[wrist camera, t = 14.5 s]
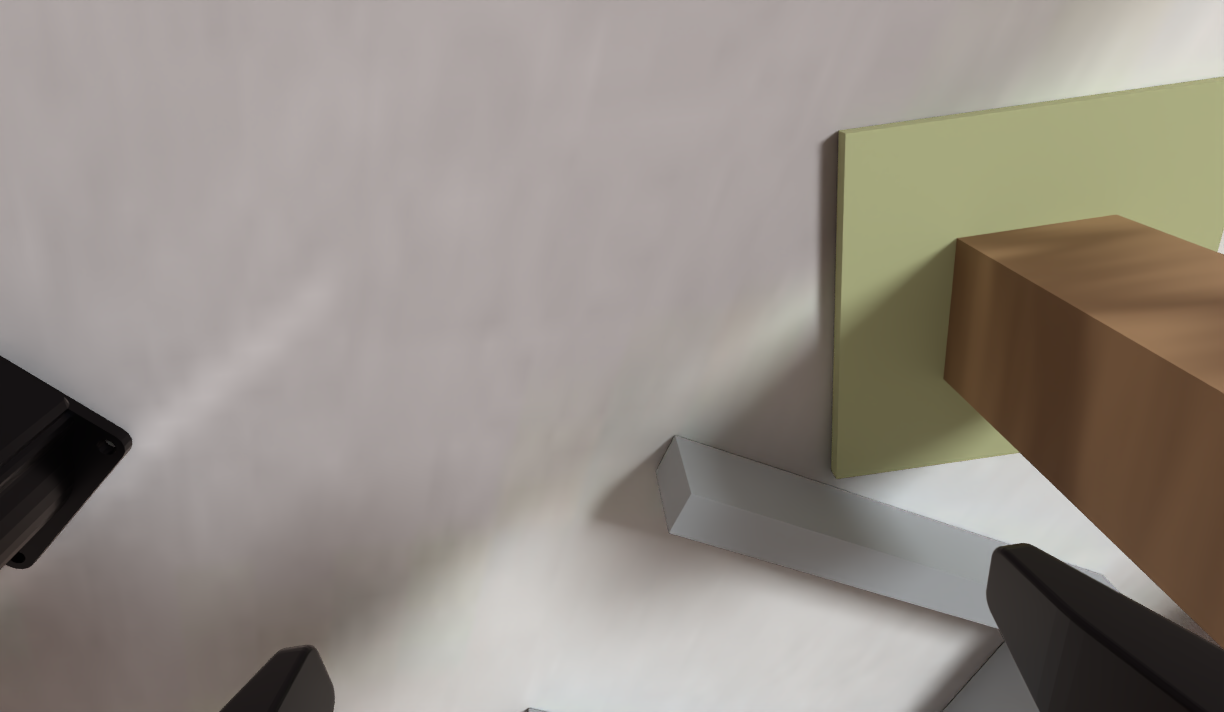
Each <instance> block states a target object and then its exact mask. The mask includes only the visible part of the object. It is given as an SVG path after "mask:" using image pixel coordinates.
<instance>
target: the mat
mask: <svg viewBox="0 0 1224 712" xmlns="http://www.w3.org/2000/svg"><path fill="white" fill-rule="evenodd" d="M1116 214H1117V215H1119V216H1122V217H1125V218H1127V219H1130V220H1133V221H1135V222H1138V223H1141V224H1143V225H1146V226H1149V227H1151V228H1154V229H1157V230H1159V231H1162V232H1165V233H1167V234H1170V235H1173V236H1175V237H1178V238H1181V239H1183V240H1186V241H1189V242H1191V243H1194V244H1197V245H1199V246H1202V247H1205V248H1207V249H1210V250H1213V251H1215V252H1217V251H1218V247H1219V244H1220V240H1221V237H1222V233H1223V230H1224V77H1218V78H1211V79H1204V80H1197V81H1190V82H1182V83H1175V84H1168V85H1161V86H1154V87H1147V88H1140V89H1132V90H1125V91H1118V92H1111V93H1104V94H1097V95H1090V96H1082V97H1075V98H1068V99H1061V100H1054V101H1047V102H1040V103H1032V104H1025V105H1018V106H1011V107H1004V108H997V109H990V110H982V111H975V112H968V113H961V114H954V115H947V116H940V117H932V118H925V119H918V120H911V121H904V122H897V123H890V124H882V125H875V126H868V127H861V128H854V129H847V130H840V131H839V139H838V184H837V228H836V273H835V317H834V362H833V406H832V451H831V471H832V473H833V474H834V476H835V478H836V479H841V478H848V477H855V476H862V475H869V474H876V473H883V472H890V471H897V470H903V469H910V468H917V467H924V466H931V465H938V464H945V463H952V462H959V461H966V460H973V459H980V458H987V457H993V456H1000V455H1007V454H1014V453H1020V452H1019V451H1018V450H1017V449H1016V448H1014V447H1013V446H1012V445H1011V444H1010V443H1009V442H1008V441H1007V440H1006V439H1005V438H1004V437H1003V436H1002V435H1001V434H1000V433H999V432H998V431H997V430H996V429H995V428H994V427H993V426H992V425H991V424H990V423H989V422H988V421H987V420H985V419H984V418H983V417H982V416H981V415H980V414H979V413H978V412H977V411H976V410H975V409H974V408H973V407H972V406H971V405H970V404H969V403H968V402H967V401H966V400H965V399H964V398H963V397H962V396H961V395H960V394H959V393H957V392H956V391H955V390H954V389H953V388H952V387H951V386H950V385H949V384H948V383H947V382H946V381H945V380H944V379H943V377H944V367H945V357H946V346H947V336H948V325H949V315H950V304H951V294H952V283H953V273H954V262H955V252H956V241H957V238H961V237H968V236H975V235H981V234H988V233H995V232H1002V231H1008V230H1015V229H1022V228H1028V227H1035V226H1042V225H1049V224H1055V223H1062V222H1069V221H1076V220H1082V219H1089V218H1096V217H1103V216H1109V215H1116Z"/></svg>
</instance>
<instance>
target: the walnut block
mask: <svg viewBox="0 0 1224 712" xmlns="http://www.w3.org/2000/svg"><path fill="white" fill-rule="evenodd" d="M943 379H944V380H945V381H946V382H947V383H948V384H949V385H950V386H951V387H952V388H953V389H954V390H955V391H956V392H957V393H959V394H960V395H961V396H962V397H963V398H964V399H965V400H966V401H967V402H968V403H969V404H970V405H971V406H972V407H973V408H974V409H975V410H976V411H977V412H978V413H979V414H980V415H981V416H982V417H983V418H984V419H985V420H987V421H988V422H989V423H990V424H991V425H992V426H993V427H994V428H995V429H996V430H997V431H998V432H999V433H1000V434H1001V435H1002V436H1003V437H1004V438H1005V439H1006V440H1007V441H1008V442H1009V443H1010V444H1011V445H1012V446H1013V447H1014V448H1016V449H1017V450H1018V451H1019V452H1020V453H1021V454H1022V455H1023V456H1024V457H1025V458H1026V459H1027V460H1028V461H1029V462H1030V463H1031V464H1032V465H1033V466H1034V467H1035V468H1036V469H1037V470H1038V471H1039V472H1040V473H1041V474H1042V475H1044V476H1045V477H1046V478H1047V479H1048V480H1049V481H1050V482H1051V483H1052V484H1053V485H1054V486H1055V487H1056V488H1057V489H1058V490H1059V491H1060V492H1061V493H1062V494H1063V495H1064V496H1065V497H1066V498H1067V499H1068V500H1069V501H1070V502H1071V503H1073V504H1074V505H1075V506H1076V507H1077V508H1078V509H1079V510H1080V511H1081V512H1082V513H1083V514H1084V515H1085V516H1086V517H1087V518H1088V519H1089V520H1090V521H1091V522H1092V523H1093V524H1094V525H1095V526H1096V527H1097V528H1098V529H1099V530H1101V531H1102V532H1103V533H1104V534H1105V535H1106V536H1107V537H1108V538H1109V539H1110V540H1111V541H1112V542H1113V543H1114V544H1115V545H1116V546H1117V547H1118V548H1119V549H1120V550H1121V551H1122V552H1123V553H1124V554H1125V555H1126V556H1127V557H1128V558H1130V559H1131V560H1132V561H1133V562H1134V563H1135V564H1136V565H1137V566H1138V567H1139V568H1140V569H1141V570H1142V571H1143V572H1144V573H1145V574H1146V575H1147V576H1148V577H1149V578H1150V579H1151V580H1152V581H1153V582H1154V583H1155V584H1156V585H1158V586H1159V587H1160V588H1161V589H1162V590H1163V591H1164V592H1165V593H1166V594H1167V595H1168V596H1169V597H1170V598H1171V599H1172V600H1173V601H1174V602H1175V603H1176V604H1177V605H1178V606H1179V607H1180V608H1181V609H1182V610H1183V611H1184V612H1185V613H1187V614H1188V615H1189V616H1190V617H1191V618H1192V619H1193V620H1194V621H1195V622H1196V623H1197V624H1198V625H1199V626H1200V627H1201V628H1202V629H1203V630H1204V631H1205V632H1206V633H1207V634H1208V635H1209V636H1210V637H1211V638H1212V639H1213V640H1215V641H1216V642H1217V643H1218V644H1219V645H1220V646H1221V647H1222V648H1223V649H1224V255H1223V254H1221V253H1218V252H1215V251H1213V250H1210V249H1207V248H1205V247H1202V246H1199V245H1197V244H1194V243H1191V242H1189V241H1186V240H1183V239H1181V238H1178V237H1175V236H1173V235H1170V234H1167V233H1165V232H1162V231H1159V230H1157V229H1154V228H1151V227H1149V226H1146V225H1143V224H1141V223H1138V222H1135V221H1133V220H1130V219H1127V218H1125V217H1122V216H1119V215H1117V214H1116V215H1109V216H1103V217H1096V218H1089V219H1082V220H1076V221H1069V222H1062V223H1055V224H1049V225H1042V226H1035V227H1028V228H1022V229H1015V230H1008V231H1002V232H995V233H988V234H981V235H975V236H968V237H961V238H957V241H956V252H955V262H954V273H953V283H952V294H951V304H950V315H949V325H948V336H947V346H946V357H945V367H944V377H943Z"/></svg>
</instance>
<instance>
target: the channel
mask: <svg viewBox="0 0 1224 712" xmlns="http://www.w3.org/2000/svg"><path fill="white" fill-rule="evenodd" d="M656 475H657V480H658V485H659V489H660V494H661V499H662V503H663V508H664V513H665V517H666V522H667V527H668V531H669V533H670V534H674V535H677V536H680V537H684V538H687V539H691V540H694V541H698V542H701V543H705V544H708V545H711V546H715V547H718V548H722V549H725V550H729V551H732V552H735V553H739V554H742V555H746V556H749V557H753V558H756V559H760V560H763V561H766V562H770V563H773V564H777V565H780V566H784V567H787V568H791V569H794V570H797V571H801V572H804V573H808V574H811V575H815V576H818V577H822V578H825V579H828V580H832V581H835V582H839V583H842V584H846V585H849V586H852V587H856V588H859V589H863V590H866V591H870V592H873V593H877V594H880V595H883V596H887V597H890V598H894V599H897V600H901V601H904V602H908V603H911V604H914V605H918V606H921V607H925V608H928V609H932V610H935V611H939V612H942V613H945V614H949V615H952V616H956V617H959V618H963V619H966V620H970V621H973V622H976V623H980V624H983V625H987V626H990V627H994V628H997V629H998V627H997V624H996V622H995V620H994V618H993V616H992V614H991V612H990V610H989V607H988V604H987V600H986V587H987V581H988V575H989V569H990V563H991V557H992V553H993V551H994V550H995V549H996V548H997V547H999V546H1006V545H1009V544H1006V543H1003V542H1000V541H997V540H994V539H991V538H988V537H985V536H982V535H979V534H976V533H973V532H970V531H966V530H963V529H960V528H957V527H954V526H951V525H948V524H945V523H942V522H939V521H936V520H933V519H930V518H927V517H924V516H921V515H918V514H915V513H912V512H908V511H905V510H902V509H899V508H896V507H893V506H890V505H887V504H884V503H881V502H878V501H875V500H872V499H869V498H866V497H863V496H860V495H857V494H853V493H850V492H847V491H844V490H841V489H838V488H835V487H832V486H829V485H826V484H823V483H820V482H817V481H814V480H811V479H808V478H805V477H802V476H798V475H795V474H792V473H789V472H786V471H783V470H780V469H777V468H774V467H771V466H768V465H765V464H762V463H759V462H756V461H753V460H750V459H747V458H744V457H740V456H737V455H734V454H731V453H728V452H725V451H722V450H719V449H716V448H713V447H710V446H707V445H704V444H701V443H698V442H695V441H692V440H689V439H685V438H682V437H679V436H676V435H675V436H674V438H673V440H672V442H671V444H670V446H669V448H668V449H667V451H666V453H665V455H664V457H663V459H662V461H661V463H660V464H659V466H658V468H657V470H656ZM1066 564H1067V563H1066ZM1068 565H1070V564H1068ZM1070 566H1071V567H1073V568H1075V569H1077V570H1079V571H1081V572H1082V573H1084V574H1086V575H1088V576H1090V577H1092V578H1093V579H1095V580H1097V581H1099V582H1101V583H1103V584H1104V585H1106V586H1108V587H1110V588H1112V589H1114V590H1115V591H1117V592H1119V591H1118V590H1117V589H1116V588H1115V587H1114V586H1113V585H1112V584H1111V583H1110V582H1109V581H1108V580H1107V579H1106V578H1105V577H1104V576H1103V575H1101V574H1098V573H1095V572H1092V571H1089V570H1086V569H1083V568H1080V567H1076V566H1073V565H1070ZM1119 593H1120V592H1119ZM527 712H544V711H540V710H535V709H530V708H529V709H528V711H527ZM942 712H1039V710H1038V708H1037V706H1036V704H1035V702H1034V700H1033V698H1032V696H1031V694H1030V692H1029V690H1028V688H1027V686H1026V684H1025V682H1024V680H1023V678H1022V676H1021V674H1020V672H1019V670H1018V667H1017V665H1016V663H1015V661H1014V659H1013V657H1012V655H1011V653H1010V651H1009V649H1008V647H1007V645H1006V643H1005V642H1004V643H1003V644H1002V645H1001V646H1000V647H999V648H998V650H997V651H996V652H995V653H994V654H993V655H992V656H991V657H990V659H989V660H988V661H987V662H986V663H985V664H984V665H983V666H982V668H981V669H980V670H979V671H978V672H977V673H976V674H975V675H974V677H973V678H972V679H971V680H970V681H969V682H968V683H967V684H966V686H965V687H964V688H963V689H962V690H961V691H960V692H959V693H958V695H957V696H956V697H955V698H954V699H953V700H952V701H951V702H950V704H949V705H948V706H947V707H946V708H945V709H944V710H943V711H942Z"/></svg>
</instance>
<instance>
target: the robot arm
mask: <svg viewBox="0 0 1224 712" xmlns="http://www.w3.org/2000/svg"><path fill="white" fill-rule="evenodd" d="M106 440H108V441H110V442H112V443H113V444H114V445H115V447H113V446H111V445H109V444H108V443H107V442H106ZM131 447H132V439H131V437H130V435H129V434H128V433H127V432H126V431H125V430H123V429H122V428H120V427H119V426H117V425H115V424H114V423H112V422H110V421H109V420H107V419H105V418H104V417H102V416H100V415H99V414H97V413H95V412H94V411H92V410H90V409H89V408H87V407H85V406H84V405H82V404H80V403H79V402H77V401H75V400H74V399H72V398H70V397H69V396H67V395H65V394H64V393H62V392H60V391H59V390H57V389H55V388H54V387H52V386H50V385H49V384H47V383H45V382H44V381H42V380H40V379H38V378H37V377H35V376H33V375H32V374H30V373H28V372H27V371H25V370H23V369H22V368H20V367H18V366H17V365H15V364H13V363H12V362H10V361H8V360H7V359H5V358H3V357H2V356H0V569H1V568H2V567H3V566H4V565H5V564H6V565H8V566H10V567H13V568H16V569H25V568H29V567H30V566H32V565H33V564H34V563H35V562H36V561H37V559H38V558H39V557H40V556H41V555H42V554H43V553H44V551H45V550H46V549H47V548H48V547H49V546H50V544H51V543H52V542H53V541H54V540H55V538H56V537H57V536H58V535H59V534H60V532H61V531H62V530H63V529H64V528H65V526H66V525H67V524H68V523H69V522H70V520H71V519H72V518H73V517H74V516H75V515H76V513H77V512H78V511H79V510H80V509H81V507H82V506H83V505H84V504H85V503H86V501H87V500H88V499H89V498H90V497H91V495H92V494H93V493H94V492H95V491H96V490H97V488H98V487H99V486H100V485H101V484H102V482H103V481H104V480H105V479H106V478H107V476H108V475H109V474H110V473H111V472H112V470H113V469H114V468H115V467H116V466H117V464H118V463H119V462H120V461H121V460H122V459H123V457H124V456H125V455H126V454H127V453H128V451H129V450H130V449H131ZM986 600H987V604H988V607H989V610H990V612H991V614H992V616H993V618H994V620H995V622H996V624H997V627H998V629H999V631H1000V633H1001V635H1002V637H1003V639H1004V641H1005V643H1006V645H1007V647H1008V649H1009V651H1010V653H1011V655H1012V657H1013V659H1014V661H1015V663H1016V665H1017V667H1018V670H1019V672H1020V674H1021V676H1022V678H1023V680H1024V682H1025V684H1026V686H1027V688H1028V690H1029V692H1030V694H1031V696H1032V698H1033V700H1034V702H1035V704H1036V706H1037V708H1038V710H1039V712H1224V650H1223V649H1222V648H1220V647H1218V646H1216V645H1214V644H1212V643H1211V642H1209V641H1207V640H1205V639H1203V638H1201V637H1200V636H1198V635H1196V634H1194V633H1192V632H1190V631H1189V630H1187V629H1185V628H1183V627H1181V626H1179V625H1178V624H1176V623H1174V622H1172V621H1170V620H1168V619H1167V618H1165V617H1163V616H1161V615H1159V614H1157V613H1156V612H1154V611H1152V610H1150V609H1148V608H1146V607H1145V606H1143V605H1141V604H1139V603H1137V602H1136V601H1134V600H1132V599H1130V598H1128V597H1126V596H1125V595H1123V594H1121V593H1119V592H1117V591H1115V590H1114V589H1112V588H1110V587H1108V586H1106V585H1104V584H1103V583H1101V582H1099V581H1097V580H1095V579H1093V578H1092V577H1090V576H1088V575H1086V574H1084V573H1082V572H1081V571H1079V570H1077V569H1075V568H1073V567H1071V566H1070V565H1068V564H1066V563H1064V562H1062V561H1060V560H1059V559H1057V558H1055V557H1053V556H1051V555H1049V554H1048V553H1046V552H1044V551H1042V550H1040V549H1039V548H1037V547H1035V546H1033V545H1030V544H1027V543H1020V544H1013V545H1006V546H999V547H997V548H996V549H995V550H994V551H993V553H992V557H991V563H990V569H989V575H988V581H987V587H986ZM334 703H335V694H334V687H333V684H332V682H331V679H330V677H329V675H328V673H327V670H326V668H325V666H324V664H323V661H322V659H321V657H320V655H319V652H318V651H317V649H316V648H315V647H314V646H312V645H303V646H296V647H289V648H284V649H281V650H280V651H278V652H277V653H276V654H275V655H274V656H273V657H272V658H271V659H270V660H269V661H268V662H267V663H266V664H265V665H264V666H263V667H262V668H261V669H260V670H259V671H258V672H257V673H256V674H255V675H254V676H253V677H252V678H251V679H250V681H249V682H248V683H247V684H246V685H245V686H244V687H243V688H242V689H241V690H240V691H239V692H238V693H237V694H236V695H235V696H234V697H233V698H232V699H231V700H230V701H229V702H228V703H227V704H226V705H225V706H224V707H223V708H222V709H221V710H220V711H219V712H333V711H334Z"/></svg>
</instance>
